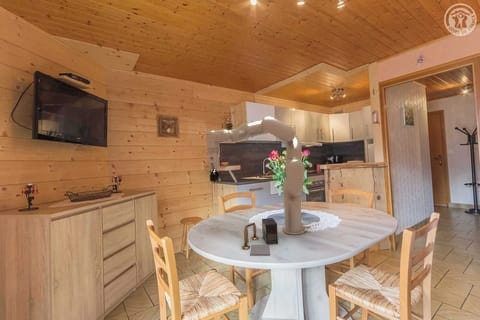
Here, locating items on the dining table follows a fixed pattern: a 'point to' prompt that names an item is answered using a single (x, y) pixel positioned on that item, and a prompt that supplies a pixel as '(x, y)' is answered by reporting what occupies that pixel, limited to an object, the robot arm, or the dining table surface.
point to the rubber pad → (260, 250)
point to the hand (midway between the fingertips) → (214, 180)
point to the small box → (270, 231)
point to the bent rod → (247, 236)
